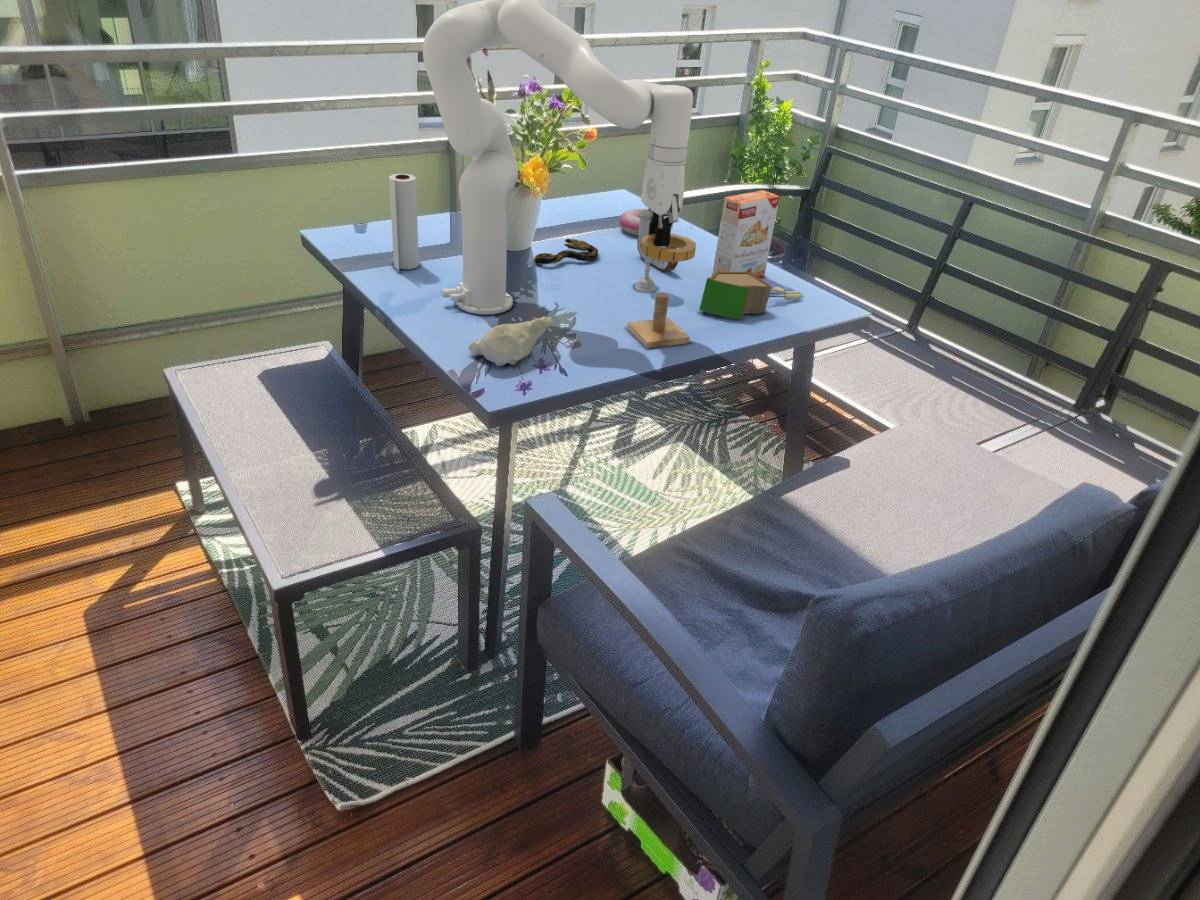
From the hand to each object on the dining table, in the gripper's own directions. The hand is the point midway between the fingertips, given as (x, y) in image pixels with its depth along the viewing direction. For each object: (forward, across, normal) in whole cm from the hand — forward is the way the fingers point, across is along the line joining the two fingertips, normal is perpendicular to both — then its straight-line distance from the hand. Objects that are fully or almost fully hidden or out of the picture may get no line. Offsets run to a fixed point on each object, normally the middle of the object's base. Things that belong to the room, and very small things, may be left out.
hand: (658, 242), depth 188 cm
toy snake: (+19, -43, -3) cm, 47 cm away
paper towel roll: (+19, -47, -43) cm, 66 cm away
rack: (+19, +4, 0) cm, 20 cm away
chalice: (+19, -21, +9) cm, 30 cm away
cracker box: (+20, -21, +35) cm, 45 cm away
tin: (+19, -34, +18) cm, 43 cm away
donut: (+19, -58, +26) cm, 66 cm away
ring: (0, +4, 0) cm, 4 cm away
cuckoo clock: (+20, -5, +29) cm, 36 cm away
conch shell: (+19, +5, -33) cm, 39 cm away
